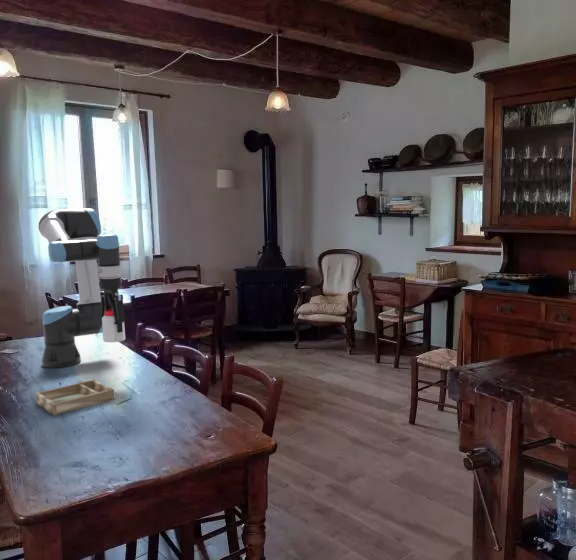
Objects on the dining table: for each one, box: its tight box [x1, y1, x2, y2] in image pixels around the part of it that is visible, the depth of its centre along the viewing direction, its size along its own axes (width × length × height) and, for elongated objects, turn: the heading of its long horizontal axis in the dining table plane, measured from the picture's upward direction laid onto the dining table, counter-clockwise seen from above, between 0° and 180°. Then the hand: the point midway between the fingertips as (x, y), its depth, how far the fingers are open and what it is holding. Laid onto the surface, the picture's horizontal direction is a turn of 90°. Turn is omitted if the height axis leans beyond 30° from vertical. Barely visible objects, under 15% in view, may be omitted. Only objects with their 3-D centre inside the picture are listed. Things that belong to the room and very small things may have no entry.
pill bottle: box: [102, 309, 126, 343], centre depth 207 cm, size 8×8×11 cm
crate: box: [34, 379, 116, 416], centre depth 188 cm, size 16×20×4 cm
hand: (114, 338), depth 208 cm, fingers closed on pill bottle, 8 cm apart
